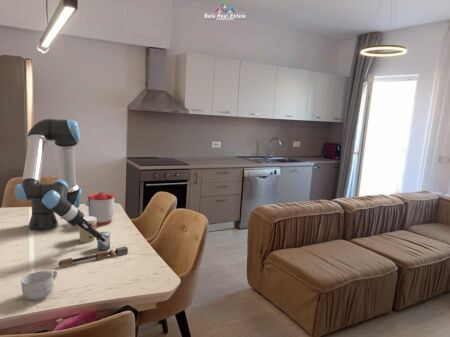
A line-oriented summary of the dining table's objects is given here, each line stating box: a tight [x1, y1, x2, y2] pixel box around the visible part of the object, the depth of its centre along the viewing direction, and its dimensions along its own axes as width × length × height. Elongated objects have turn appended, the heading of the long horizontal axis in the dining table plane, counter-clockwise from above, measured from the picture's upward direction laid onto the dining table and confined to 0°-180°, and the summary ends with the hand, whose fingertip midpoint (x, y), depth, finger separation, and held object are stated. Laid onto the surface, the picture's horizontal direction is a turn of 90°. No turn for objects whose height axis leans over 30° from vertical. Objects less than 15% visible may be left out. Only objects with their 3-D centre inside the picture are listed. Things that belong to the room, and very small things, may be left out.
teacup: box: [20, 269, 58, 301], centre depth 132 cm, size 14×11×8 cm
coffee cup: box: [78, 215, 97, 243], centre depth 188 cm, size 9×9×12 cm
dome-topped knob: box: [97, 231, 111, 252], centre depth 178 cm, size 6×6×8 cm
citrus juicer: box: [84, 191, 115, 226], centre depth 215 cm, size 16×17×20 cm
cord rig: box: [58, 245, 129, 269], centre depth 165 cm, size 3×32×3 cm, turn 129°
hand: (103, 239), depth 178 cm, fingers open, 13 cm apart
